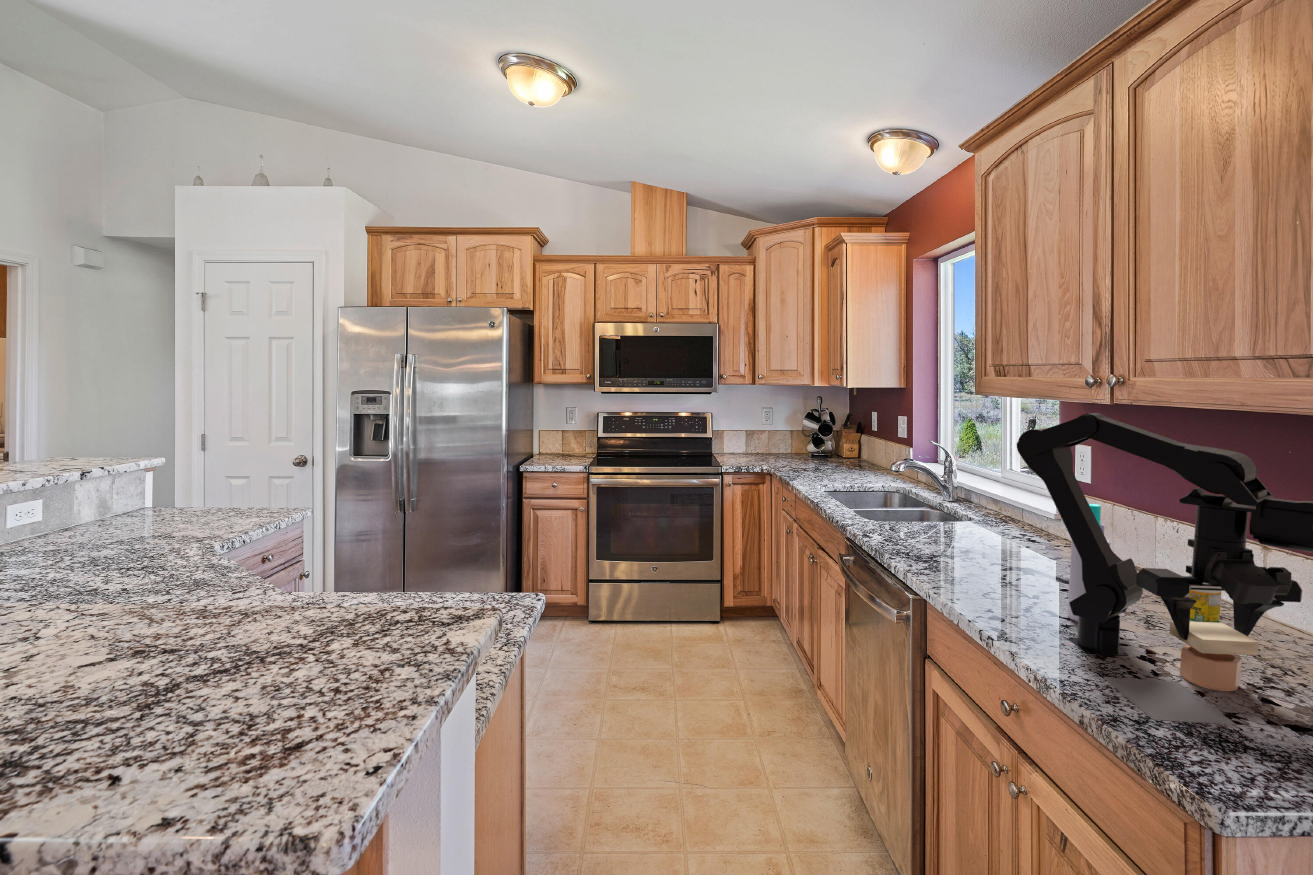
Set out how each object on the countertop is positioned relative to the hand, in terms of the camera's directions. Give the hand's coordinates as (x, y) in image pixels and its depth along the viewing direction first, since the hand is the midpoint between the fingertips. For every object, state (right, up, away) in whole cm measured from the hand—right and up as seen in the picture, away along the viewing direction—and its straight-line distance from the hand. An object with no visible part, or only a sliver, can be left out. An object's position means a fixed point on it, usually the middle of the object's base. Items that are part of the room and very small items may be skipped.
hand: (1211, 640), depth 96 cm
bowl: (0, -7, +1) cm, 7 cm away
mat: (-11, -7, -5) cm, 14 cm away
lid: (0, -1, 0) cm, 1 cm away
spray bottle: (-1, -4, +26) cm, 26 cm away
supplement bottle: (+19, -4, +24) cm, 31 cm away
